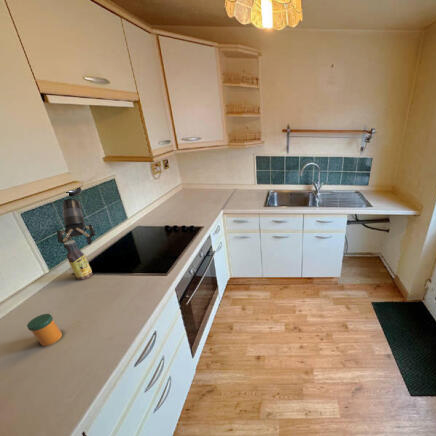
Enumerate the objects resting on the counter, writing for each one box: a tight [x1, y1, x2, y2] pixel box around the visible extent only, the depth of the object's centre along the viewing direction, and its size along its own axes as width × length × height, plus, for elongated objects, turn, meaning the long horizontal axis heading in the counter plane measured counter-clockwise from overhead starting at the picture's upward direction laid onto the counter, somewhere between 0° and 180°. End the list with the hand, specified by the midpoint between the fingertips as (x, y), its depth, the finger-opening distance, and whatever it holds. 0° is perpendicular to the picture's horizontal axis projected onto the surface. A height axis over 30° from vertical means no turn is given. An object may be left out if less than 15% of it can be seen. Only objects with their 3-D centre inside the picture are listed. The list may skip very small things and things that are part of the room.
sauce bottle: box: [63, 239, 93, 281], centre depth 111 cm, size 6×6×20 cm
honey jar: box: [31, 319, 63, 347], centre depth 82 cm, size 6×6×9 cm
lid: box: [26, 313, 54, 332], centre depth 80 cm, size 6×6×2 cm
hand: (78, 246), depth 116 cm, fingers open, 8 cm apart
